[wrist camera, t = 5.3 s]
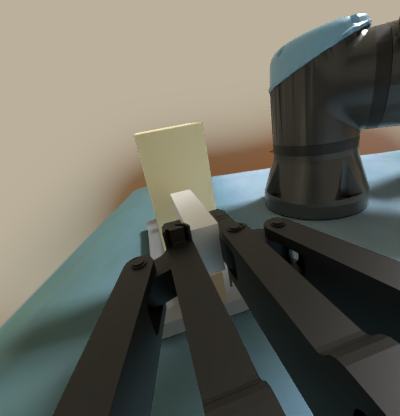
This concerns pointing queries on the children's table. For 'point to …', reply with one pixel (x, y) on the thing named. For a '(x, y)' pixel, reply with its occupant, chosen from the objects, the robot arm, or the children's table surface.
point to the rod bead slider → (173, 311)
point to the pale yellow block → (175, 167)
